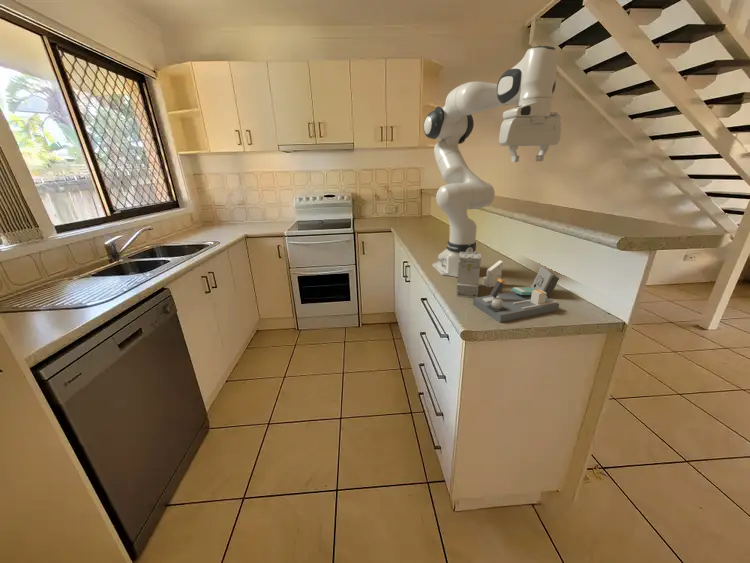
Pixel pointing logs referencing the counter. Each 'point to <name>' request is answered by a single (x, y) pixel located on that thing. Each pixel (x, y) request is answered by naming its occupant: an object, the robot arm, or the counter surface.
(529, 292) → the teal tile cream strip
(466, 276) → the circuit breaker
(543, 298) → the cream cube orange stripe
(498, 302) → the button
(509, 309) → the panel
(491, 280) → the white angled block
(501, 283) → the toggle lever
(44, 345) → the counter surface
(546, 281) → the electrical switch
